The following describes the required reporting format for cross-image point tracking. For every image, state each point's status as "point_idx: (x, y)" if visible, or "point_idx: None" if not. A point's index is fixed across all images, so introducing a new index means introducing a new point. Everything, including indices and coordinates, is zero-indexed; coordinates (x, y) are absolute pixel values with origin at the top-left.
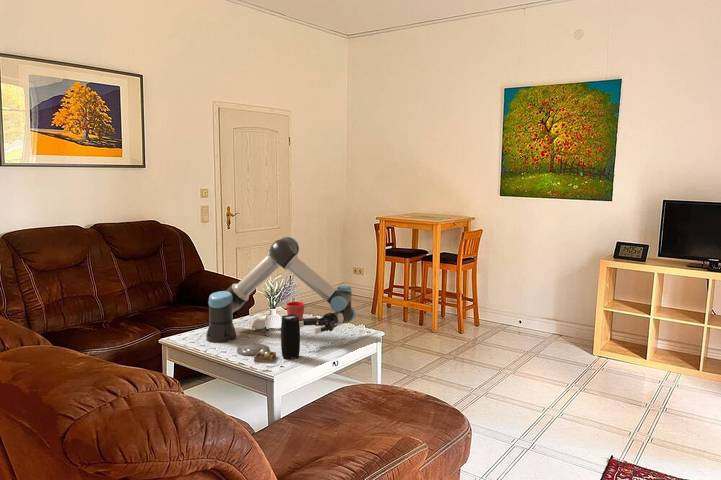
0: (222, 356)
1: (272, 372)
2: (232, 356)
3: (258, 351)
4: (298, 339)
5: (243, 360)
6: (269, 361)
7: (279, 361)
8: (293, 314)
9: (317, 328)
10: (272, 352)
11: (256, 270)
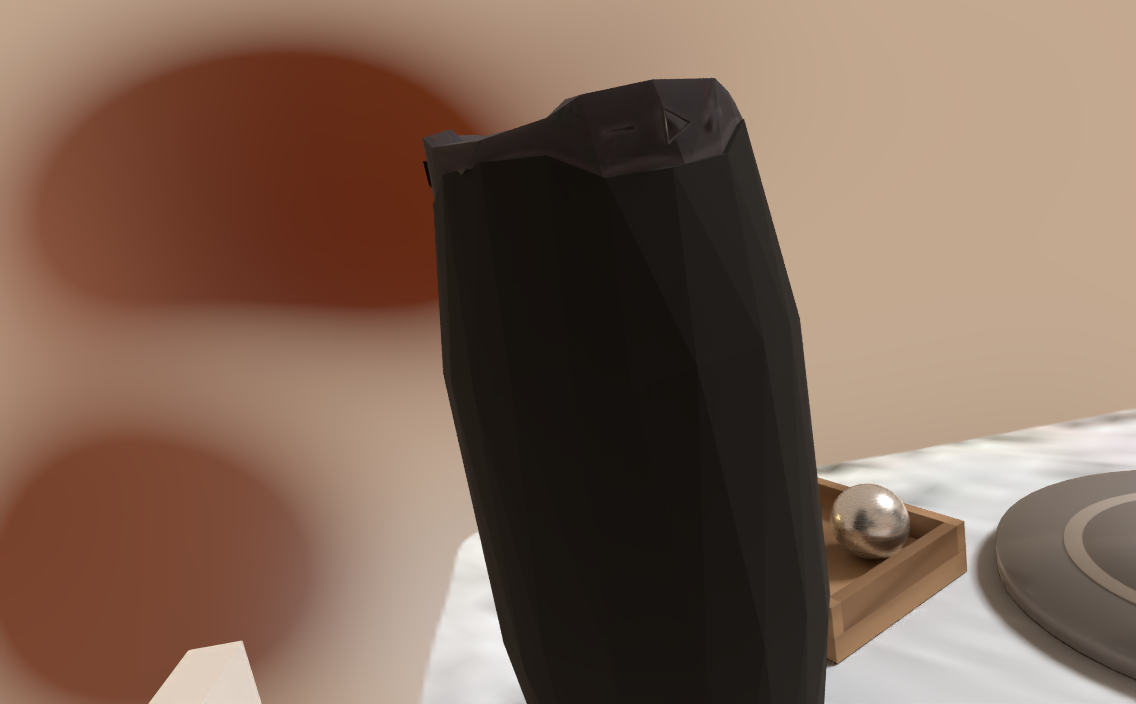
0: (1095, 429)
1: None
2: (1063, 460)
3: (1076, 565)
4: (479, 532)
5: (895, 483)
6: None
7: None
8: (625, 90)
9: (158, 701)
10: (846, 588)
11: None
